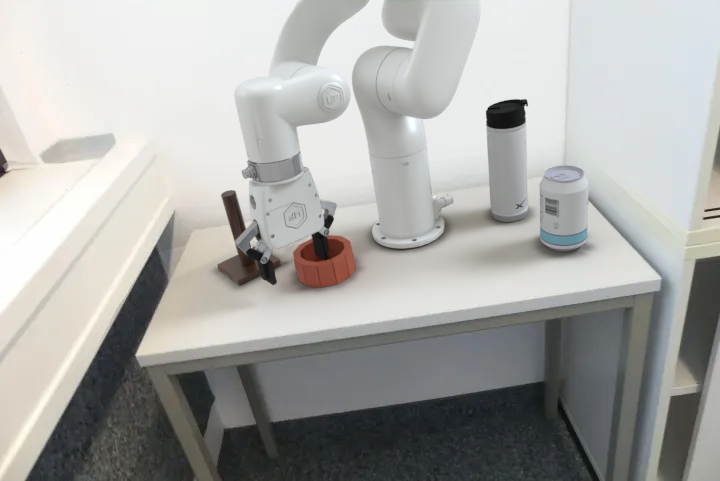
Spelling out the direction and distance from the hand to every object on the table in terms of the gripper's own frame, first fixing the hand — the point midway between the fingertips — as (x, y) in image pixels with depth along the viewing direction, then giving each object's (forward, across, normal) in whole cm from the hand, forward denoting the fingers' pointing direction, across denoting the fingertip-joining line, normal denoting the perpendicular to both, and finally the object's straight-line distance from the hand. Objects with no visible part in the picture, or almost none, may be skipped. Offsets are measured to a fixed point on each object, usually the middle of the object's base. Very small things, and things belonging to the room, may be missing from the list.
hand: (296, 268), depth 94 cm
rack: (+3, -3, +12) cm, 13 cm away
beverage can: (+2, +34, -24) cm, 42 cm away
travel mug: (+2, +37, -11) cm, 39 cm away
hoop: (+3, +5, 0) cm, 6 cm away
